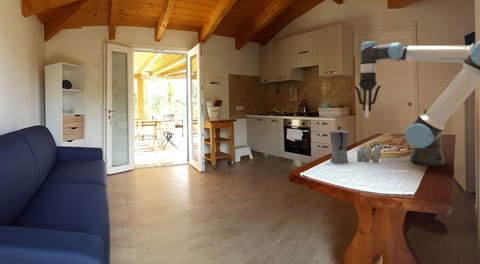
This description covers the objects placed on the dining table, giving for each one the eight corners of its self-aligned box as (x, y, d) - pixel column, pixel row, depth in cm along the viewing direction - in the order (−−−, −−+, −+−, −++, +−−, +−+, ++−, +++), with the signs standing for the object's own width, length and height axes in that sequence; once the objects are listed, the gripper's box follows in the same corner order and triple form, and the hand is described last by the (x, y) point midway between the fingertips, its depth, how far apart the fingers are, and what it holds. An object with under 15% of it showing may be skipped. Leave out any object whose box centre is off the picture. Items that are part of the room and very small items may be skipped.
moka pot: (345, 160, 164) (345, 124, 161) (353, 167, 149) (353, 128, 146) (327, 160, 165) (327, 125, 162) (333, 167, 150) (333, 129, 147)
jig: (381, 159, 162) (381, 147, 161) (379, 165, 151) (379, 151, 150) (360, 158, 167) (360, 146, 166) (356, 163, 156) (357, 150, 156)
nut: (372, 158, 161) (372, 153, 160) (373, 160, 156) (373, 155, 156) (363, 158, 162) (363, 153, 162) (364, 160, 158) (364, 155, 157)
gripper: (382, 71, 153) (380, 116, 157) (356, 73, 160) (355, 116, 163) (381, 71, 147) (379, 118, 150) (353, 72, 153) (352, 117, 157)
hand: (366, 117), depth 157 cm, fingers closed
